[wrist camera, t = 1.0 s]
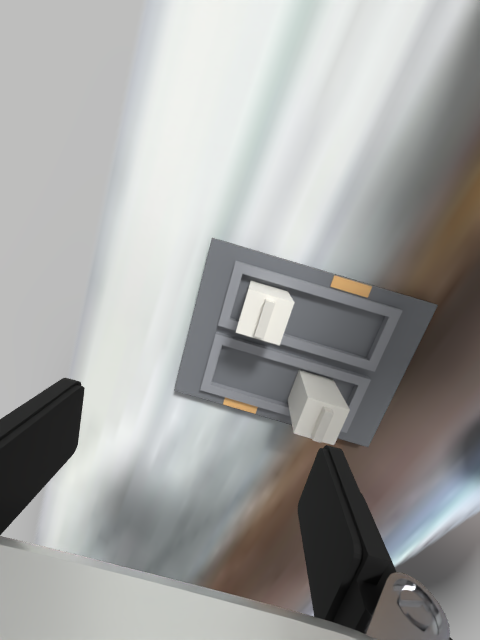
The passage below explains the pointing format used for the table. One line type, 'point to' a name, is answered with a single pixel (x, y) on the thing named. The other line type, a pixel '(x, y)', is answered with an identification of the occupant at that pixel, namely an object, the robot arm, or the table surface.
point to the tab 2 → (317, 408)
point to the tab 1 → (265, 313)
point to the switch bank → (299, 339)
